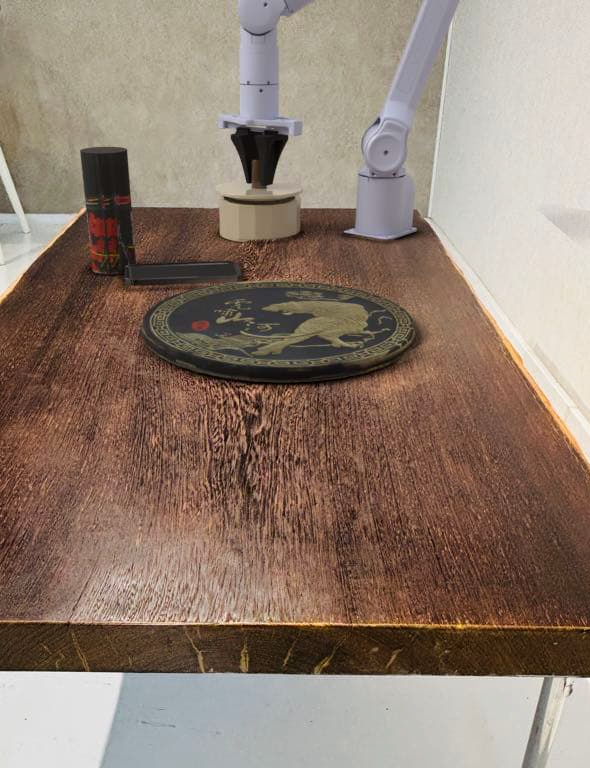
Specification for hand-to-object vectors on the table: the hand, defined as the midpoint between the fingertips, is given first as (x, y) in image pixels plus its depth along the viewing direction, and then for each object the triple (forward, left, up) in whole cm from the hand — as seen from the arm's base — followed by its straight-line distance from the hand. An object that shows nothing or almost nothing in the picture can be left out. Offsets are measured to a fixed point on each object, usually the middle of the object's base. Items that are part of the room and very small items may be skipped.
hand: (259, 183), depth 132 cm
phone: (+27, +9, -7) cm, 29 cm away
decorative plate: (+36, +32, -8) cm, 49 cm away
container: (0, 0, -7) cm, 7 cm away
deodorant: (+29, -2, -8) cm, 30 cm away
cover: (0, 0, -1) cm, 1 cm away
